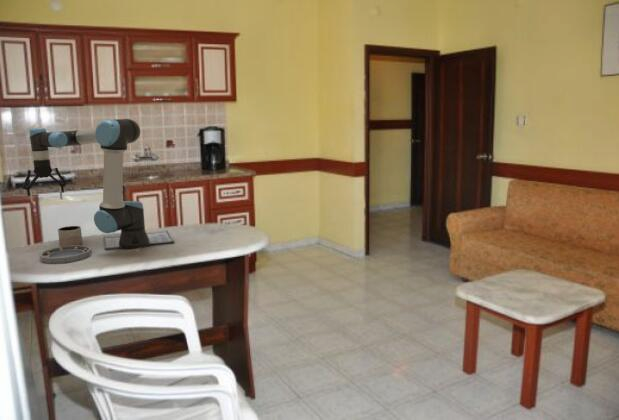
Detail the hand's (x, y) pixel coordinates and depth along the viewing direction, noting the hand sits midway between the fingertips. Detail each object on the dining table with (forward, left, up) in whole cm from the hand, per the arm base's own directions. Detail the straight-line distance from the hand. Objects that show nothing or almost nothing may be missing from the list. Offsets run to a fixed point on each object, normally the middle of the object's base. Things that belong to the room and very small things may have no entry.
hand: (47, 200), depth 266 cm
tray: (-24, +14, -24) cm, 37 cm away
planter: (-11, -2, -24) cm, 26 cm away
